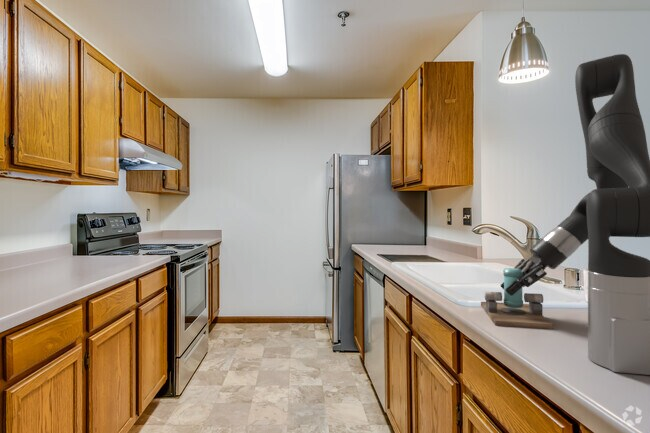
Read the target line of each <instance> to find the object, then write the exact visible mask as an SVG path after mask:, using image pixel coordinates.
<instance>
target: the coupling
mask: <svg viewBox="0 0 650 433" xmlns="http://www.w3.org/2000/svg"><path fill="white" fill-rule="evenodd" d="M521 271H522V270H521V269H516V268H514V267H507V268H504V269H503V274H502V275H503V282H504V289H503V296H504V297H503V303H504V305H505V306H507V307H511V308H522V307H523V304H524V299H523V287H522V288H521V289H519V290H518V291H517V292H516V293H515V294H514V295H512V296H511V295H509V294H508V293H507V292H506V291H505V289H506V288H507V287H508V286H509V285H510V284H512V283H513V282H514V281H516V279H517V278H518V277H519V276H520V275H521V274H520V272H521ZM516 282H517V281H516Z"/></svg>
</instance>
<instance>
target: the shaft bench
mask: <svg viewBox="0 0 650 433" xmlns="http://www.w3.org/2000/svg"><path fill="white" fill-rule="evenodd" d="M502 301H503V294H502V291H484V301H481V302H480V306H481V307H482V309H483V311H484V312H485V313H486V315H487V316H488V317H489V319H490V320H491V321H492V323H493V325H494V326H500V327H501V326H502V327H514V328H515V327H518V328H532V329H533V328H536V329H546V330H547V329H548V330H550V329H552V330H553V329H554V323H553V322H551V321H550V320H549V319H548V318H547V317H545V316H544V314H543V303H544V294H542V293H534V292H533V293H528V292H524V294H523V302H525V303H523V307H522V308H511V307H507V306H505V305H504V302H502Z"/></svg>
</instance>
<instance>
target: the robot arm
mask: <svg viewBox="0 0 650 433" xmlns="http://www.w3.org/2000/svg"><path fill="white" fill-rule="evenodd" d="M632 62H633V61H632V59H631V57H630V56H629V55H627V54H625V53H620V54H613V55H610V56H605V57H601V58H598V59H593V60H590V61H586V62H585V61H584V62H582V63H580V64H578V66H577V67H576V71H575V75H574V76H575V78H574V79H575V81H574V83H575V84H574V85H575V92H576V94H575V95H576V100H577V106H578V112H579V117H580V118H579V119H580V123H581V128H582V132H583V138H584V143H585V154H586V158H585V159H586V168H587V169H586V173H587V176H588V178H589V180H591V181H593V182H595V187H596V189H593V190H592V191H590V192H589V193H587V194H586V195H584V196H583V197H581V199H580V200H579V202H578V203H577V205H576V206H575V207H574V209H572V211H571V213H570V214H569V216H568V217H566V218H565V219H563V221H561V222H560V223H559V224H558V225H557V226H556V227H555V228H552V230H550V231H548V232H547V234H545V235H544V236H543V237H541V239H539V240H538V241H537V242H536V243H535V244H534V245H532V247H530V249H529V252H530V253H531V254H532V256H531V257H530V258H526V259H525V258H522V259H521V260H520V261H519V262H518V263H517V264H516V265H515V266H514V267H513V268H516V269H521V270H522V271H521V272H520V274H521V275H520V276H519V277H518V278H517V279H516V281H517V282H516V281H514V282H513V283H512V284H510V285H509V286H508V287H507V288H506V289H505V291H506V292H507V293H508V294H509V295H511V296H512V295H514V294H515V293H516V292H517V291H518V290H519V289H521V288H522V289H523V288H525V287H526V288H529V287H531V286H532V285H533V284H536V283H537V282H538V281H539V280H541V279H543V278H544V277H546V276H547V271H545V270H546V268H549V269H550V270H556V269H557V268H558V267H559V266H560V265H561V264H563V263H564V262H565V261H566V260H567V259H568V258H570V257H571V256H572V255H573V254H574V253H575V252H576V251H577V250H578V249H579V248H580V246H582V245H583V244H584V243H585V242H586V241H587V240H588V242H587V244H588V251H587V252H588V253H587V254H588V256H587V258H588V259H587V261H588V262H587V269H588V303H587V358H588V360H590V361H591V362H593V363H594V364H597V365H599V366H601V367H603V368H606V369H608V370H610V371H612V372H614V373H623V374H634V375H645V376H646V375H647V376H648V375H649V376H650V259H648V258H646V257H644V256H641V255H637V254H633V253H630V252H627V251H626V250H622V249H621V248H618V247H617V246H615V245H614V244H612V242H611V241H610V237H618V238H621V237H622V238H650V154H649V148H648V141H647V137H646V136H647V135H646V131H645V126H644V121H643V118H642V114H641V112H640V111H641V110H640V107H639V102H638V99H637V95H636V84H635V82H636V81H635V72H634V66H633V63H632ZM609 96H611V97H610V98H609V100H608V101H607V102H606V103H605V104H603V106H602V107H601V108H599V110H598V111H597V110H596V109H595V107H594V102H593V100H594V99H597V98H603V97H609ZM500 287H501V289H502V290H504V281H503V282H502V283H501V284H500Z"/></svg>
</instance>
